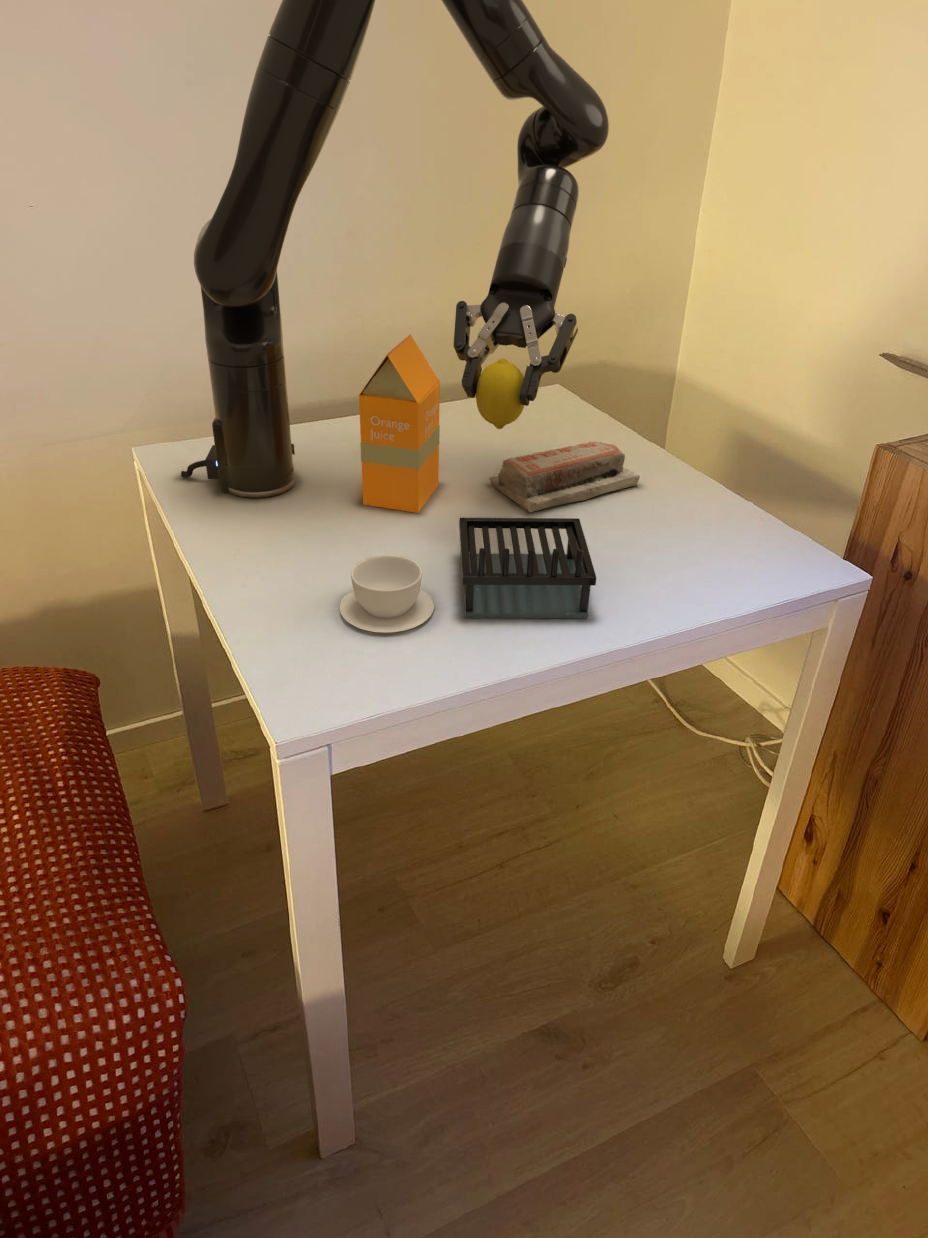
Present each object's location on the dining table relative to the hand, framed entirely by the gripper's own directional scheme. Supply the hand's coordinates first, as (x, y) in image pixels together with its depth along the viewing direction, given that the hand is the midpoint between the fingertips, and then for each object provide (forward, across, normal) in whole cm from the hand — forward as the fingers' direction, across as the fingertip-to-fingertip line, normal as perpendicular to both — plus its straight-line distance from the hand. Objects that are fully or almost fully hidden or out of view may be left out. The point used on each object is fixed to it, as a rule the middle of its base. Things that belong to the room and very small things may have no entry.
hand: (496, 397), depth 101 cm
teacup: (+25, -6, +1) cm, 26 cm away
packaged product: (-1, +5, +27) cm, 28 cm away
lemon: (+2, 0, +4) cm, 5 cm away
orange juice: (+7, -15, +20) cm, 26 cm away
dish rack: (+18, +6, +8) cm, 21 cm away
